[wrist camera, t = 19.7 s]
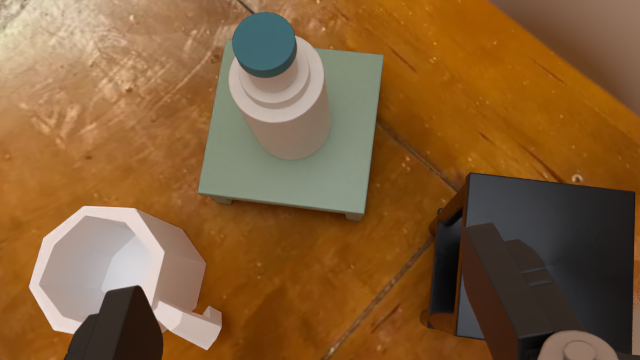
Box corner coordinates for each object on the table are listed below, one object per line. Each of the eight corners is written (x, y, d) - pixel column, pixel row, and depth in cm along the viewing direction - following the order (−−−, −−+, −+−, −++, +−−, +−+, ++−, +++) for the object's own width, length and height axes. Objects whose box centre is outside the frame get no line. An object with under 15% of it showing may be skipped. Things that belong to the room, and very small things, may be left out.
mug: (80, 297, 44) (3, 295, 35) (142, 204, 45) (85, 177, 36) (206, 382, 42) (162, 404, 33) (267, 282, 43) (242, 275, 34)
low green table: (381, 80, 46) (384, 54, 42) (363, 224, 44) (364, 214, 39) (239, 66, 48) (225, 38, 43) (214, 205, 45) (196, 192, 40)
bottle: (335, 91, 41) (326, -5, 29) (325, 164, 40) (310, 99, 27) (260, 82, 42) (219, -15, 29) (248, 155, 41) (199, 86, 28)
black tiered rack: (535, 233, 43) (636, 191, 27) (528, 341, 41) (632, 361, 26) (429, 219, 44) (469, 171, 28) (418, 325, 42) (455, 336, 26)
